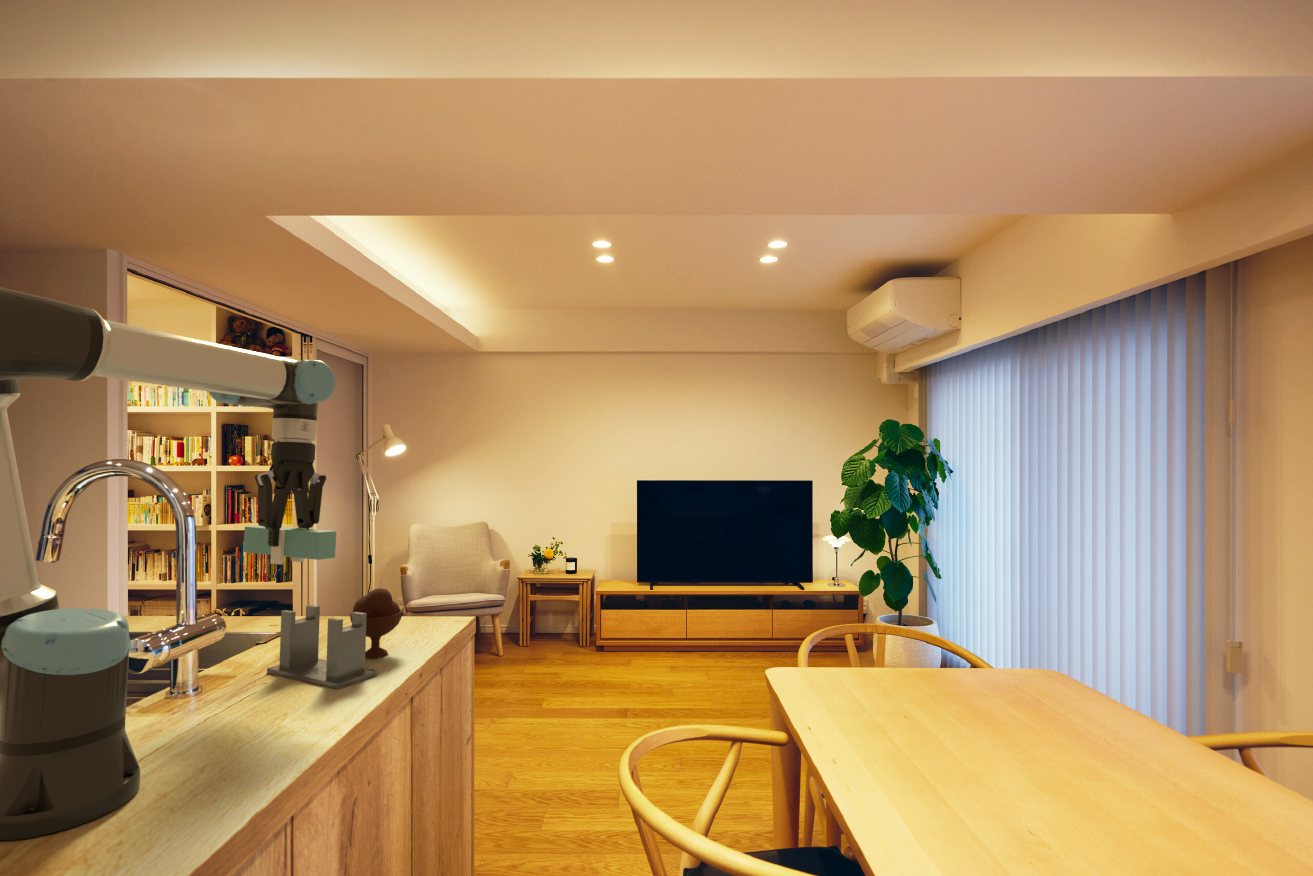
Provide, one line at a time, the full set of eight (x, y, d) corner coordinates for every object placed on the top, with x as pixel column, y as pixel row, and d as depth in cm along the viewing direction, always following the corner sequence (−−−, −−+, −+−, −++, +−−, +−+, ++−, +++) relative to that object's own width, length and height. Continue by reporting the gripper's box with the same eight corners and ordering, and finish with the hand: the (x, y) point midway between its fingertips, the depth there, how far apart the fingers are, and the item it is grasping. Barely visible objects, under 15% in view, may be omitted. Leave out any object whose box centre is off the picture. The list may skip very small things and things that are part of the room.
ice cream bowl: (409, 649, 147) (411, 584, 148) (384, 664, 136) (386, 593, 137) (366, 647, 148) (368, 582, 149) (337, 662, 137) (340, 592, 138)
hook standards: (338, 689, 121) (340, 622, 121) (266, 673, 130) (269, 611, 130) (376, 675, 129) (378, 613, 129) (307, 661, 138) (309, 602, 138)
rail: (335, 557, 120) (336, 531, 120) (318, 559, 117) (319, 532, 117) (260, 550, 129) (262, 525, 130) (243, 552, 126) (244, 526, 126)
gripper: (264, 438, 115) (257, 569, 114) (344, 444, 130) (338, 559, 129) (238, 439, 118) (231, 566, 117) (319, 444, 133) (313, 556, 132)
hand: (287, 562), depth 123 cm, fingers closed on rail, 3 cm apart
